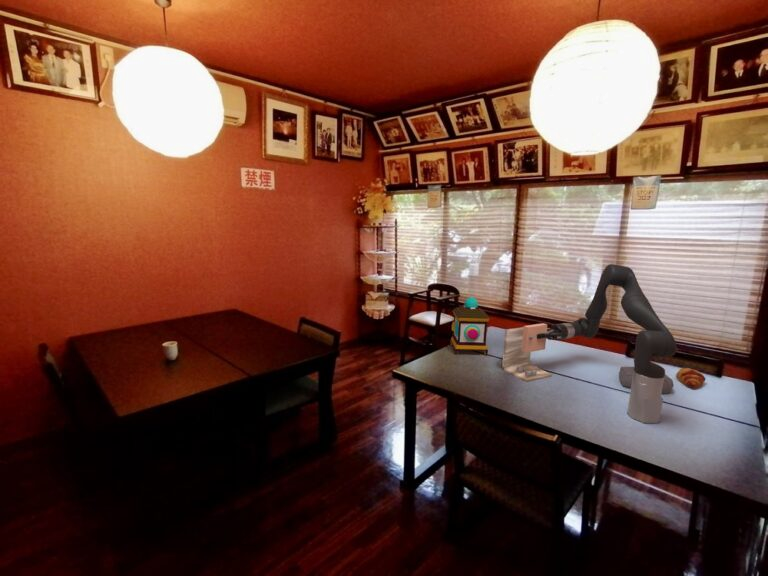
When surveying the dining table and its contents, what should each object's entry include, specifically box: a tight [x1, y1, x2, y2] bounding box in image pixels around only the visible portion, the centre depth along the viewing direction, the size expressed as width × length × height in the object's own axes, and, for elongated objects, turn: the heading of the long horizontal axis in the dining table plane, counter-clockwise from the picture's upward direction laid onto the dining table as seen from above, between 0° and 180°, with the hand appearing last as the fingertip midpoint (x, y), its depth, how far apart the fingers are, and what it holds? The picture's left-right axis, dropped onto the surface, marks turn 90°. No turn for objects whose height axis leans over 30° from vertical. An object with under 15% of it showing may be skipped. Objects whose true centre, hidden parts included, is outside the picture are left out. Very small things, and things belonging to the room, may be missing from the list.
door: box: [522, 323, 548, 353], centre depth 171 cm, size 3×12×12 cm, turn 114°
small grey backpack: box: [618, 366, 674, 394], centre depth 164 cm, size 15×8×20 cm
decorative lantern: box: [450, 296, 490, 356], centre depth 204 cm, size 20×20×30 cm
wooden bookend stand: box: [501, 326, 553, 383], centre depth 175 cm, size 16×16×20 cm
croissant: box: [675, 367, 706, 389], centre depth 170 cm, size 21×10×8 cm, turn 148°
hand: (534, 335), depth 171 cm, fingers closed on door, 2 cm apart
